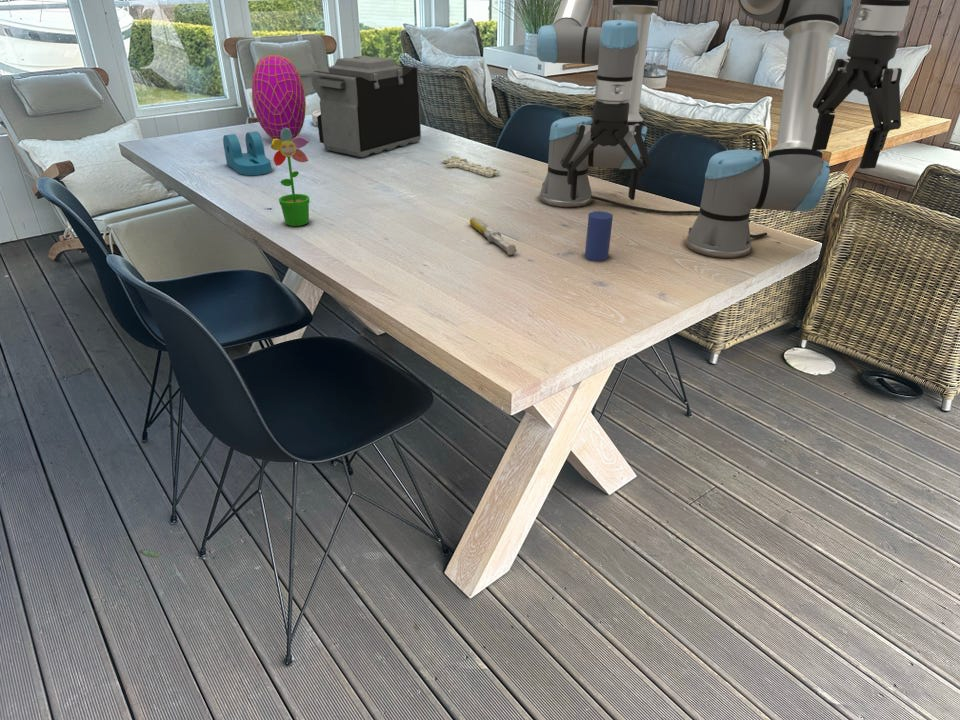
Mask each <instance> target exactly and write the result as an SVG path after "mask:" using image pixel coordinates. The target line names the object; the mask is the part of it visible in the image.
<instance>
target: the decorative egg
mask: <svg viewBox="0 0 960 720" xmlns="http://www.w3.org/2000/svg"><path fill="white" fill-rule="evenodd" d="M253 70H254V71H253V73H252V77H251V101H252V107H253V110H254V114H255V116H256V118H257V121H258V123H259V125H260V127H261V128H262V130H263V131H264V133H266V135H267V136H268V137H270V138H271V139H272V140H273V139H279V140H281V136H280V134H281V131H282V130H283V129H284V128H288V129H289V130H290V131H291V134H292V139H293V138H295V137H298V136H299V134H301V131H302V129H303V127H304V123H305V118H306V104H307V103H306V102H307V101H306V99H307V97H306V93H305V88H304V84H303V81H302V77H301V75H300V73H299V71H298V69H297V67H296V66H295V65H294V63H293V62H292V61H291V60H290V59H288V58H287V57H285V56H282V55H280V54H268V55H265V56H262V57H261V58H260V59H259V60H258V61H257V62H256V65H255V68H254V69H253ZM281 141H282V140H281Z"/></svg>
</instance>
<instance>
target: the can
mask: <svg viewBox="0 0 960 720" xmlns="http://www.w3.org/2000/svg"><path fill="white" fill-rule="evenodd" d="M587 216H588V218H587V228H586V238H585V239H586V240H585V250H584V258H585V259H587V260H588V261H592V262H604V261H607V260H608V259H609V254H610V253H609V252H610V246H611V245H610V244H611V236H612V235H611V234H612V228H613V227H612V226H613V218H614V215H613V214H612V213H610V212H608V211H603V210H595V211H594V210H593V211H590V212H588V215H587Z"/></svg>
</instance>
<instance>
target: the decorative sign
mask: <svg viewBox="0 0 960 720" xmlns="http://www.w3.org/2000/svg"><path fill="white" fill-rule="evenodd" d="M442 161H443V164H445V165H446V168H459V169H463V170H465V171H469V172H472V173H474V174H478V175H481V176H485V177H487V178H490V177H491V178H492V177H493V176H496V177H497V176H498V175H499V171H498V170H497V168H495V167H494V168H492V166H482V164H480V163H475V162H471V163H470V162H468V159H467V158H460V156H458V155H450V157H447V158H443V160H442Z"/></svg>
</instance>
